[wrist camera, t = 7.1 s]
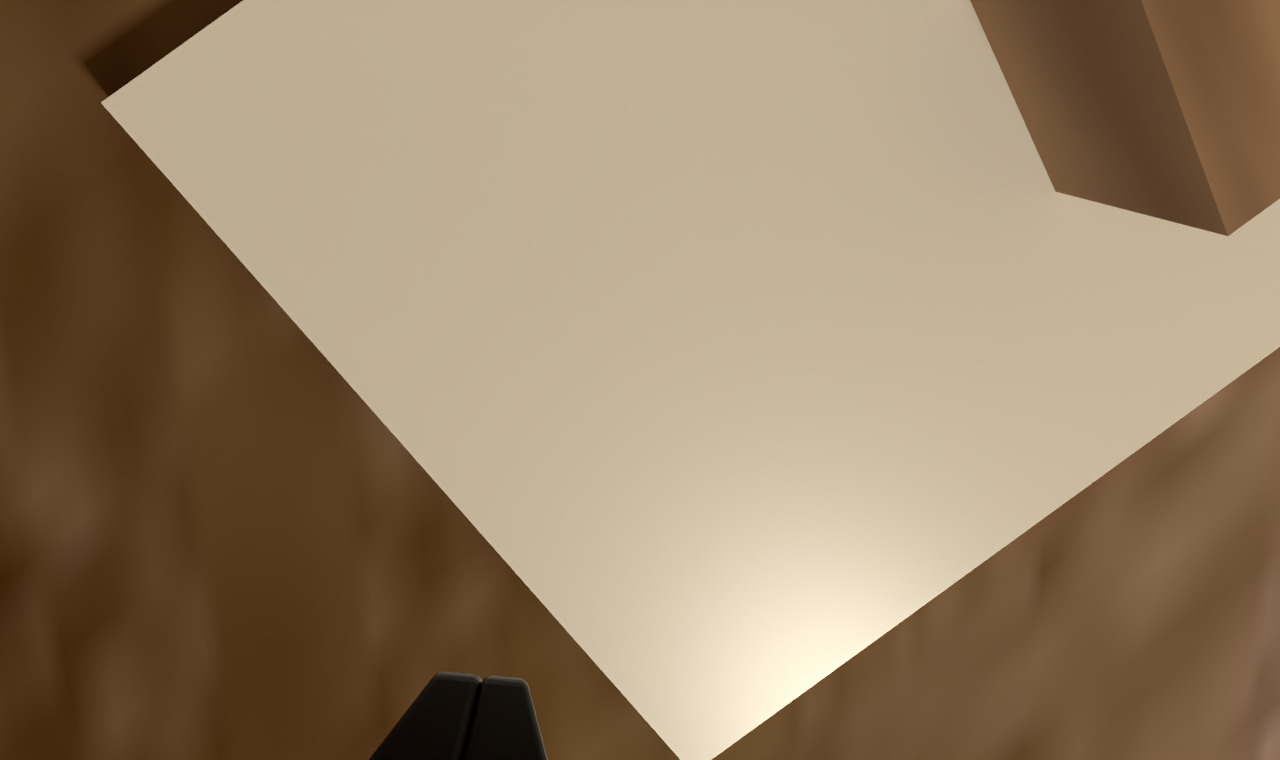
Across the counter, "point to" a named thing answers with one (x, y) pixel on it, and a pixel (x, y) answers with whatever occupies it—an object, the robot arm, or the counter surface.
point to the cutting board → (702, 301)
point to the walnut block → (1149, 101)
